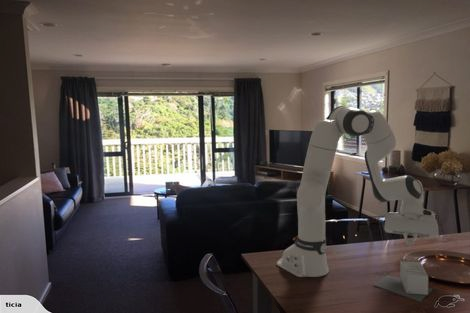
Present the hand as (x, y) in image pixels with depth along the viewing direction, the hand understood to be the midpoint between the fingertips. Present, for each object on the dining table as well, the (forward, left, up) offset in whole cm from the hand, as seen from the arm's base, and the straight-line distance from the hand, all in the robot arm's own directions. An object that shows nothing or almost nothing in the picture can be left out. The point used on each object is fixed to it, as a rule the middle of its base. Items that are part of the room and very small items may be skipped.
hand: (409, 243), depth 146 cm
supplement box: (+3, -6, -8) cm, 10 cm away
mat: (+3, -14, -12) cm, 19 cm away
